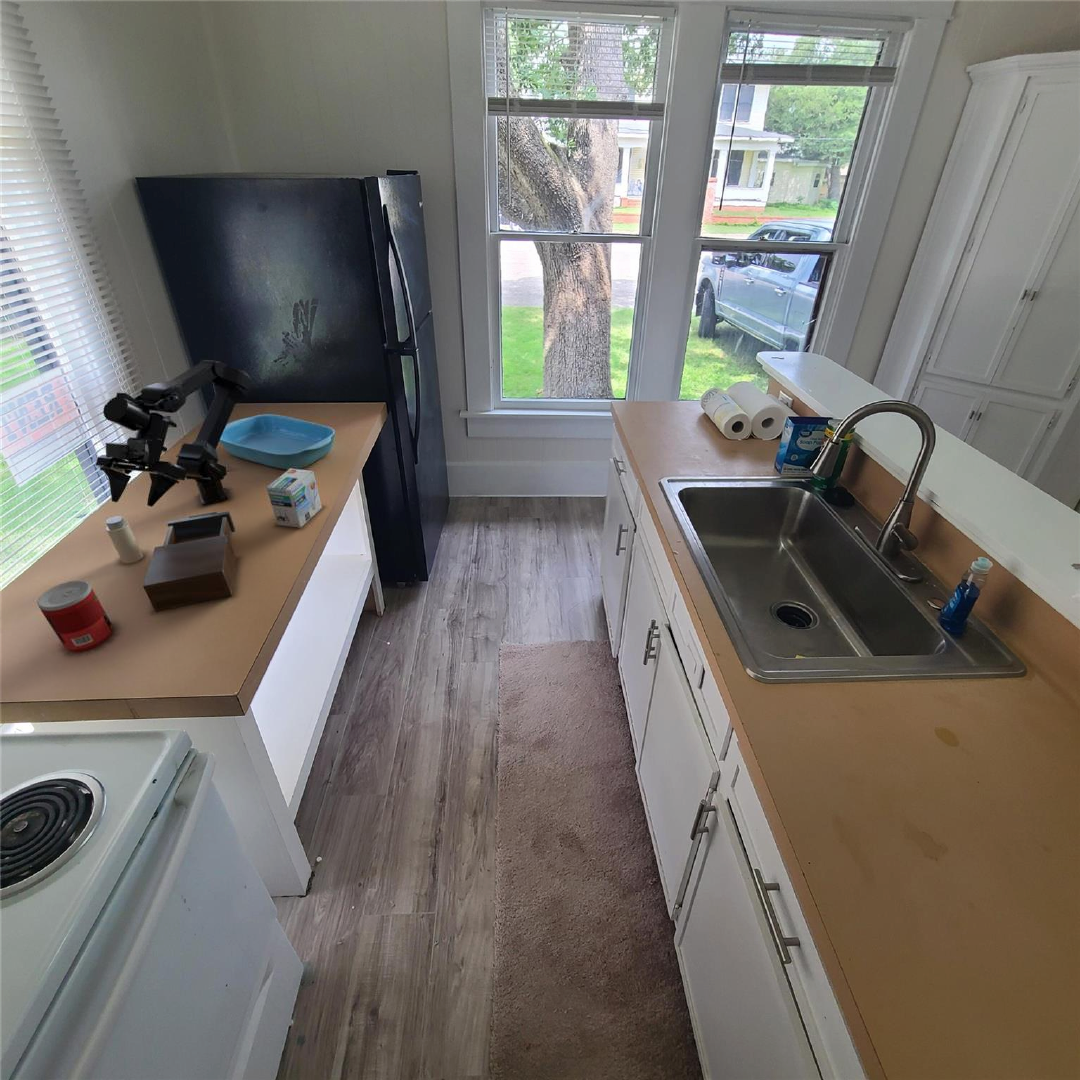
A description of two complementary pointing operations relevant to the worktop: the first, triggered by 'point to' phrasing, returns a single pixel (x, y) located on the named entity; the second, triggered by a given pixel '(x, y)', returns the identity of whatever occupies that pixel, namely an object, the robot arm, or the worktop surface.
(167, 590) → the cabinet
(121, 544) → the grey-lidded cream jar
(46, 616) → the canned food
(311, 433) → the casserole dish
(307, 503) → the light bulb box
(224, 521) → the drawer
